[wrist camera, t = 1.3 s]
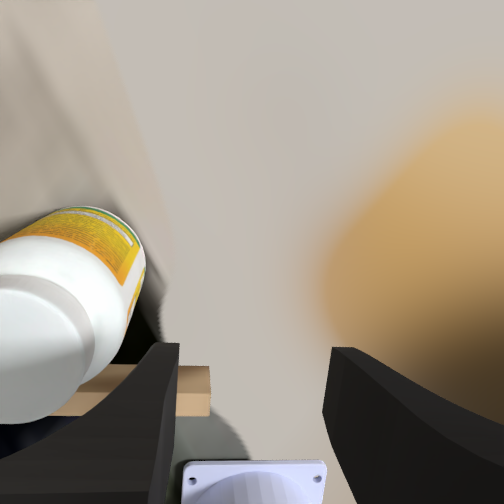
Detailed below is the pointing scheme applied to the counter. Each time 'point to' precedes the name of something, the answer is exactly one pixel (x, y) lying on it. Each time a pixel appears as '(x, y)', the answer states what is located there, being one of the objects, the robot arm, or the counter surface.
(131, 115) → the counter surface
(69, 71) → the counter surface
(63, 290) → the supplement bottle
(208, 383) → the rail
